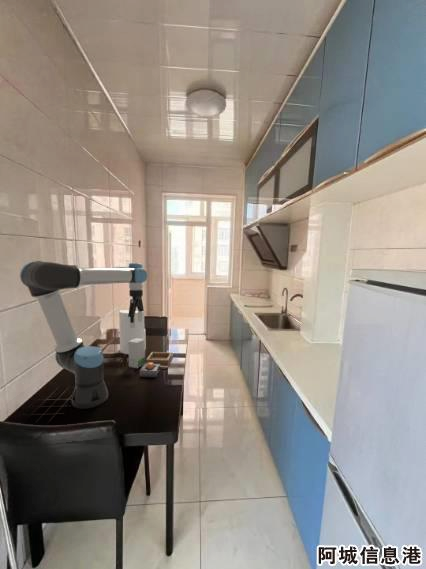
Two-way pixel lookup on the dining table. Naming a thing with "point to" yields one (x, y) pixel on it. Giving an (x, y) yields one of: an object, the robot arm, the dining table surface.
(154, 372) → the button housing
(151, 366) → the button
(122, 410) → the dining table surface
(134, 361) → the skincare box
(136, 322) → the cylinder
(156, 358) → the wooden tray
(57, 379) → the dining table surface
